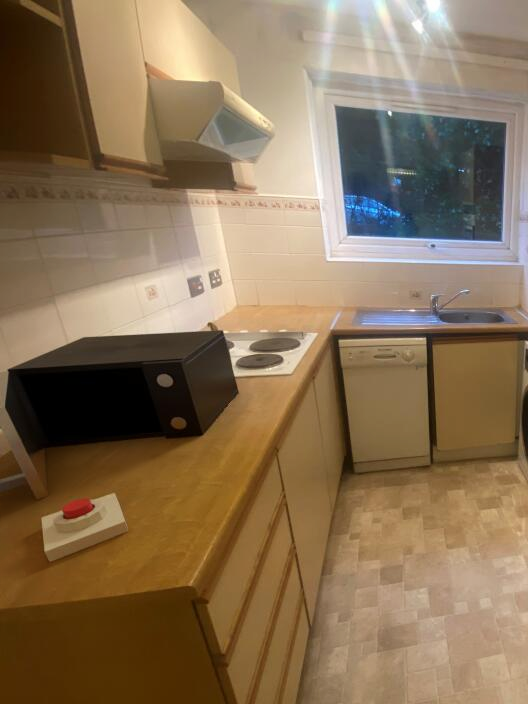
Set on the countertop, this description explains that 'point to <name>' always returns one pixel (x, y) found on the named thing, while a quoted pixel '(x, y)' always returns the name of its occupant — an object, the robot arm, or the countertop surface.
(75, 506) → the button
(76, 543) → the button block
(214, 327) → the vegetable
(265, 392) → the countertop surface
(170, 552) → the countertop surface
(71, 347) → the microwave
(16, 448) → the microwave door
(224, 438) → the countertop surface
